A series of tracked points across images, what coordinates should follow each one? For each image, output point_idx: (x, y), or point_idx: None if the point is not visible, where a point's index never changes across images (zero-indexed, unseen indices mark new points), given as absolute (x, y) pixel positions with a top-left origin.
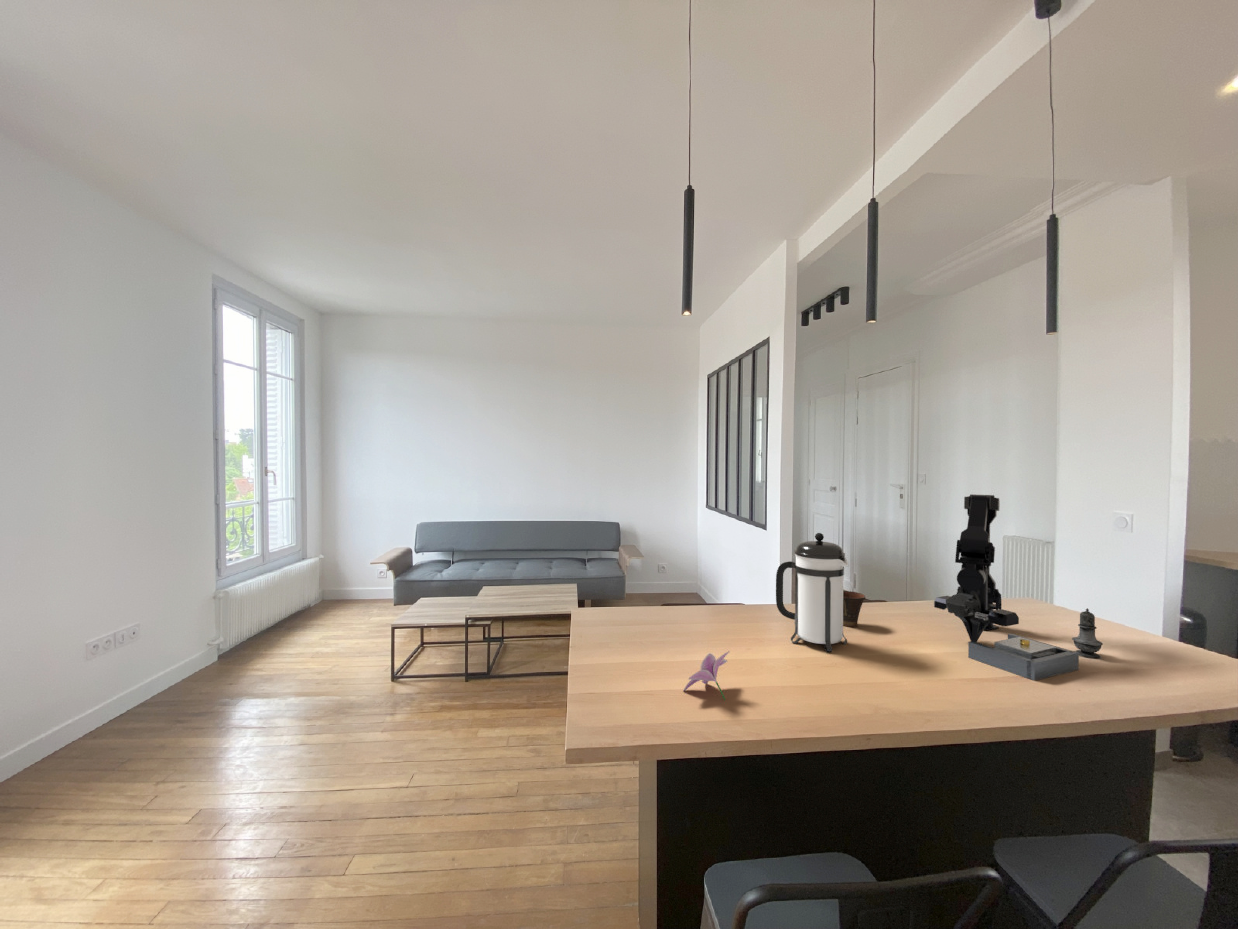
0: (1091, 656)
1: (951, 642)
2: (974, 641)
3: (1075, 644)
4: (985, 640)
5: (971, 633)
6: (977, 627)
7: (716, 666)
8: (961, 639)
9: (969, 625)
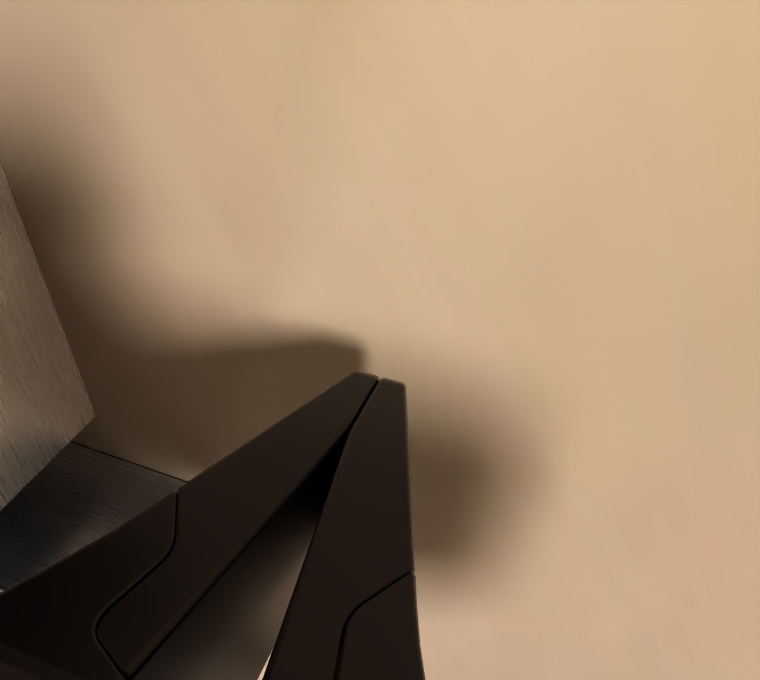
0: None
1: (744, 335)
2: (341, 381)
3: None
4: (455, 611)
5: (333, 489)
6: (33, 585)
7: None
8: (649, 538)
9: (272, 669)
